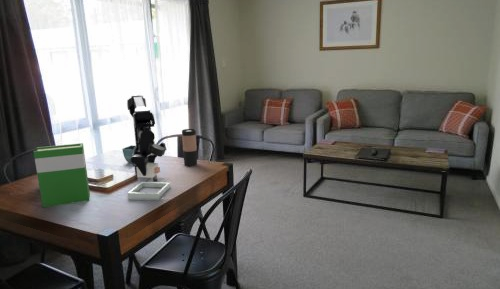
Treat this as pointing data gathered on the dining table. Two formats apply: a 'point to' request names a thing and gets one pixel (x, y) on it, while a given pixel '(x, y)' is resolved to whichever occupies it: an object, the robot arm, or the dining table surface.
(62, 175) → the hardback book
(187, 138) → the travel mug
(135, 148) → the robot arm
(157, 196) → the tray
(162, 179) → the stand
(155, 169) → the collar
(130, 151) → the flower pot
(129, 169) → the dining table surface
